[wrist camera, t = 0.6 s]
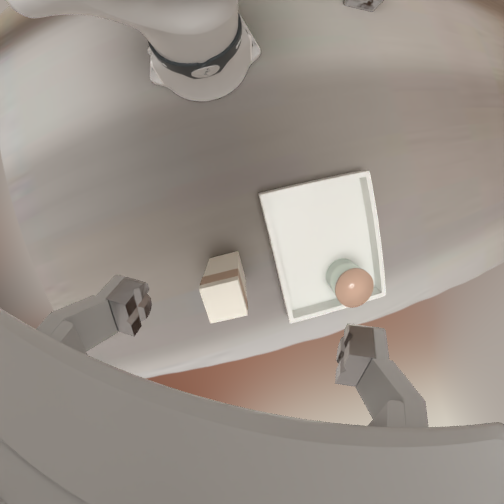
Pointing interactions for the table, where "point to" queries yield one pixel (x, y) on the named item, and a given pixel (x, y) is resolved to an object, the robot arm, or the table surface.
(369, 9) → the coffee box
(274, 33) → the table surface
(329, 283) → the lidded jar
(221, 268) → the juice carton
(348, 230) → the tray
